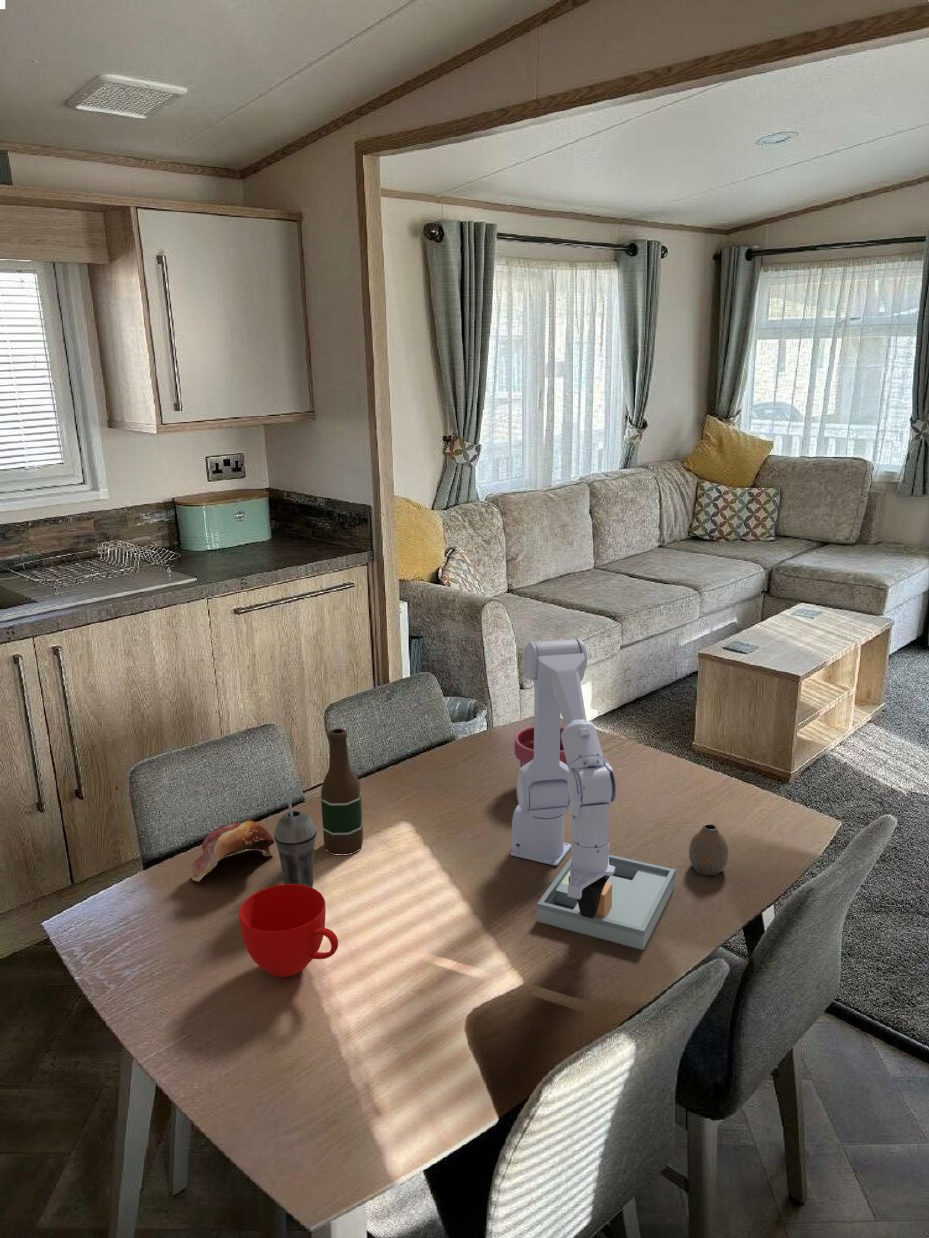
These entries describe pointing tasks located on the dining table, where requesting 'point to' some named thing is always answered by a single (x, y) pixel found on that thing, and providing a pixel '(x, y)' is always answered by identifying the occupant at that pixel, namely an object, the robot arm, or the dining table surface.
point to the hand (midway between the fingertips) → (588, 915)
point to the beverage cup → (296, 846)
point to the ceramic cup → (285, 928)
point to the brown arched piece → (231, 844)
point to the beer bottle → (341, 800)
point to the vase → (708, 851)
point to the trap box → (614, 903)
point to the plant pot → (531, 746)
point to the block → (605, 901)
